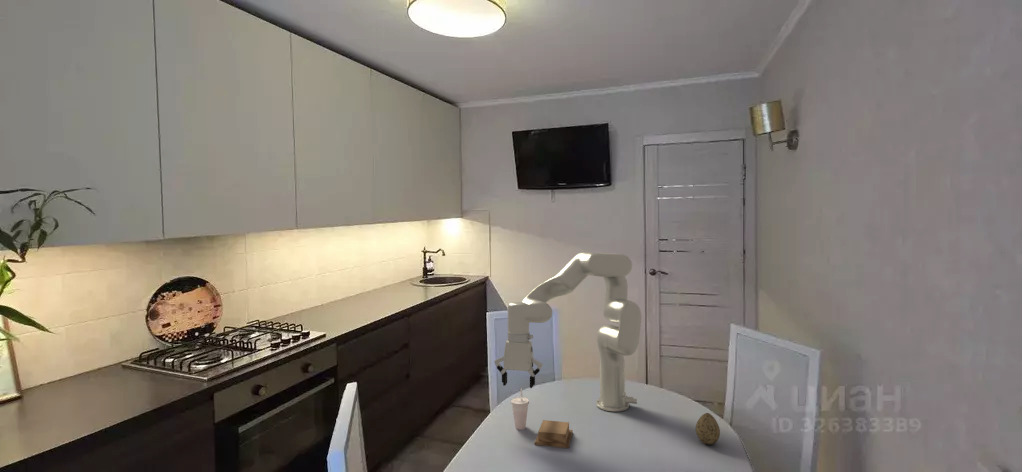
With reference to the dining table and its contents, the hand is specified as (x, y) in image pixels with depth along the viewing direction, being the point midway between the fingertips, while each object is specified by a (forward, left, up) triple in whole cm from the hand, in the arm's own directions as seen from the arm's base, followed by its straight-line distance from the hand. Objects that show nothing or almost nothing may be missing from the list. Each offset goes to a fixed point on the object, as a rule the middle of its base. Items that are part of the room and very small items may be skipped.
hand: (518, 385), depth 163 cm
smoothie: (0, 0, -15) cm, 15 cm away
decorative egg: (-62, -1, -15) cm, 64 cm away
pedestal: (-13, +6, -15) cm, 21 cm away
